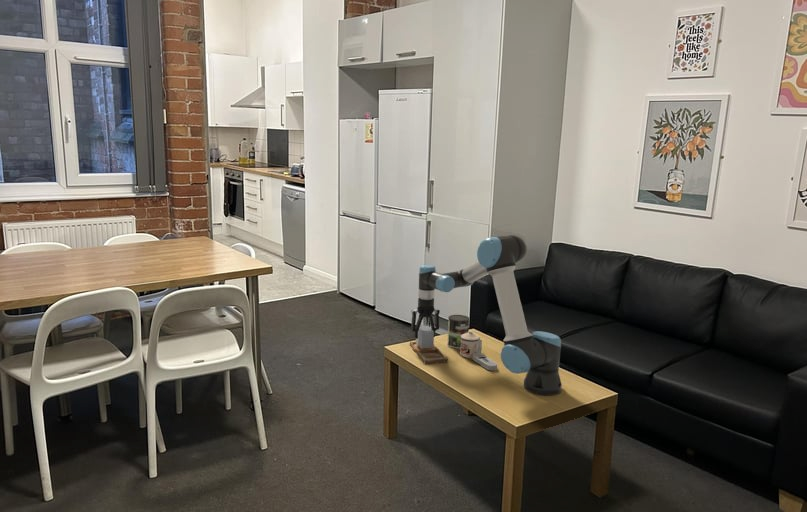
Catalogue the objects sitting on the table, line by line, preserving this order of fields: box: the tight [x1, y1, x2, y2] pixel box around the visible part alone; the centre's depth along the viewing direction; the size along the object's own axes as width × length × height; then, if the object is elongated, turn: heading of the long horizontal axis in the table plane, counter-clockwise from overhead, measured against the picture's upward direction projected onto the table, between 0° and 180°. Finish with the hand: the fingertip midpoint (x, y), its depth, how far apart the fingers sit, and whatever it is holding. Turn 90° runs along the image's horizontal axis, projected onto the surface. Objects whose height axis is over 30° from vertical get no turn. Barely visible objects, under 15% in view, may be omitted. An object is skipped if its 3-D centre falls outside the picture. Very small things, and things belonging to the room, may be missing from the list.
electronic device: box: [472, 339, 498, 371], centre depth 253 cm, size 5×10×15 cm
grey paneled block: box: [419, 325, 435, 349], centre depth 269 cm, size 9×6×8 cm, turn 16°
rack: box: [409, 341, 449, 365], centre depth 265 cm, size 24×11×2 cm, turn 16°
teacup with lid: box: [459, 330, 481, 359], centre depth 263 cm, size 12×9×12 cm
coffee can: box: [446, 314, 470, 350], centre depth 276 cm, size 10×10×14 cm
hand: (424, 344), depth 270 cm, fingers closed on grey paneled block, 6 cm apart
